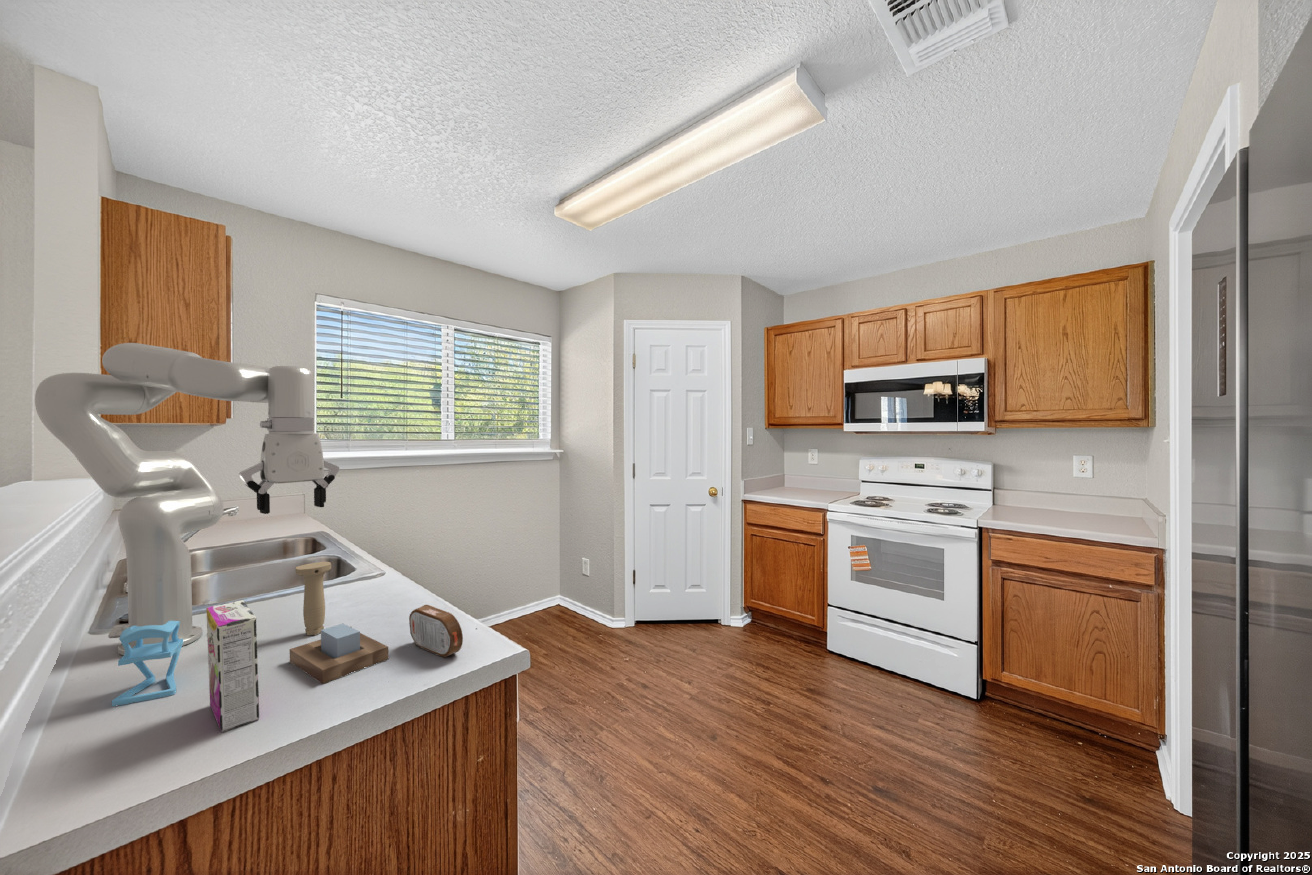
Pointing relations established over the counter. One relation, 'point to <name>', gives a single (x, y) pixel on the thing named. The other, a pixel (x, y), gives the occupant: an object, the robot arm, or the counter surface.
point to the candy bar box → (232, 664)
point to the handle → (313, 595)
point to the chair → (149, 658)
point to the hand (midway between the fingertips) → (293, 509)
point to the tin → (435, 630)
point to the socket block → (337, 659)
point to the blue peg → (339, 640)
